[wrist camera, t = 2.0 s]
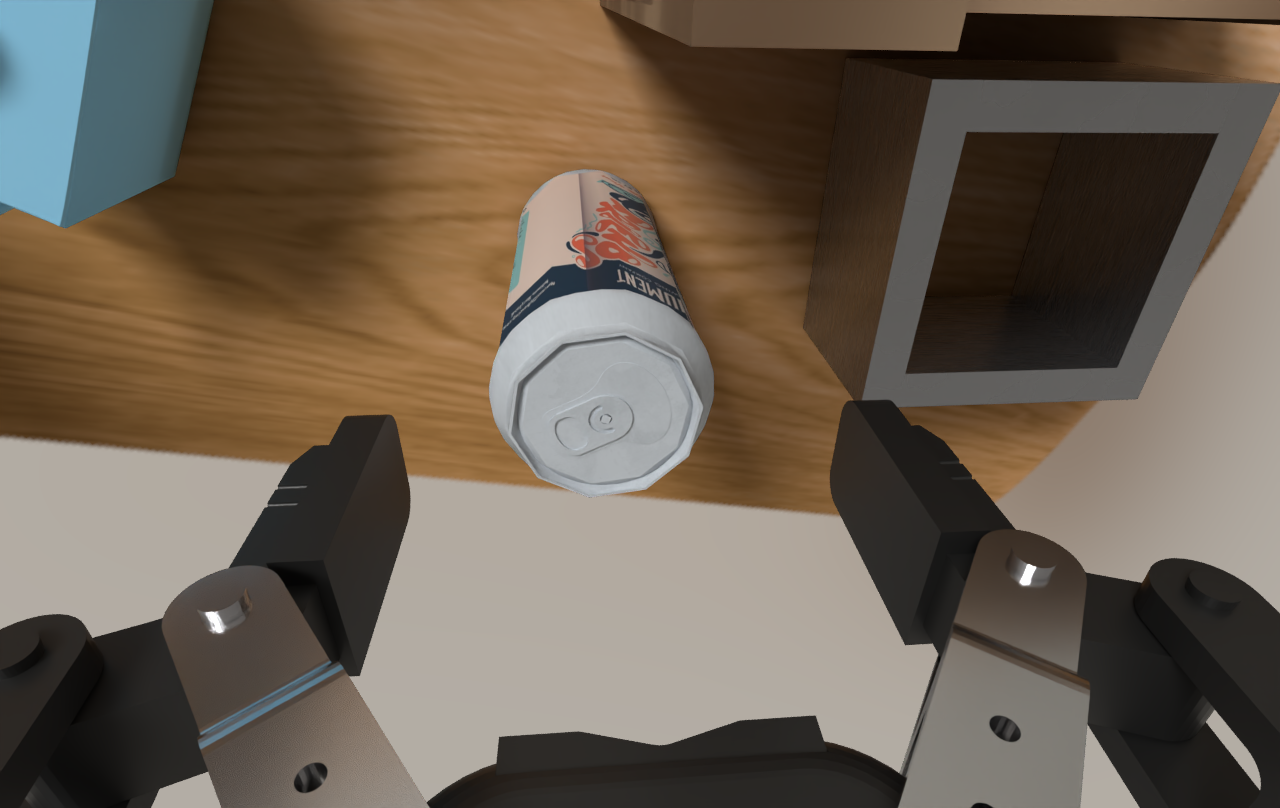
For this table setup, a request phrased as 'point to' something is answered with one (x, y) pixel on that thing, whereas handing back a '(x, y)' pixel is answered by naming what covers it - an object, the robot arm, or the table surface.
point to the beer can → (597, 343)
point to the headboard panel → (891, 19)
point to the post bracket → (1061, 237)
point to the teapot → (93, 100)
